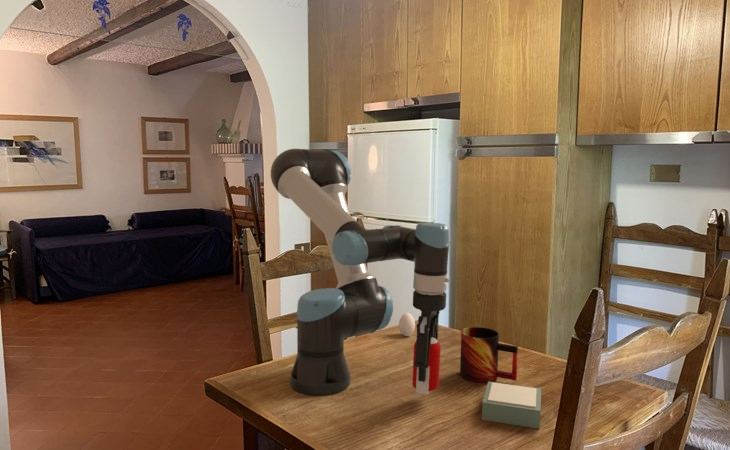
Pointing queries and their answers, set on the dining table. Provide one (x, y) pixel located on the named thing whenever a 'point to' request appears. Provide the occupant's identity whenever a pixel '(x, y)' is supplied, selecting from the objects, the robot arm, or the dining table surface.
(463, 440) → the dining table surface
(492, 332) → the mug
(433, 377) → the beverage can
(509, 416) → the base
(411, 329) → the egg
